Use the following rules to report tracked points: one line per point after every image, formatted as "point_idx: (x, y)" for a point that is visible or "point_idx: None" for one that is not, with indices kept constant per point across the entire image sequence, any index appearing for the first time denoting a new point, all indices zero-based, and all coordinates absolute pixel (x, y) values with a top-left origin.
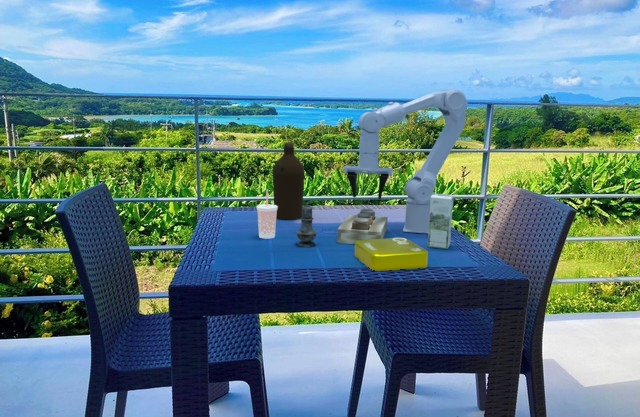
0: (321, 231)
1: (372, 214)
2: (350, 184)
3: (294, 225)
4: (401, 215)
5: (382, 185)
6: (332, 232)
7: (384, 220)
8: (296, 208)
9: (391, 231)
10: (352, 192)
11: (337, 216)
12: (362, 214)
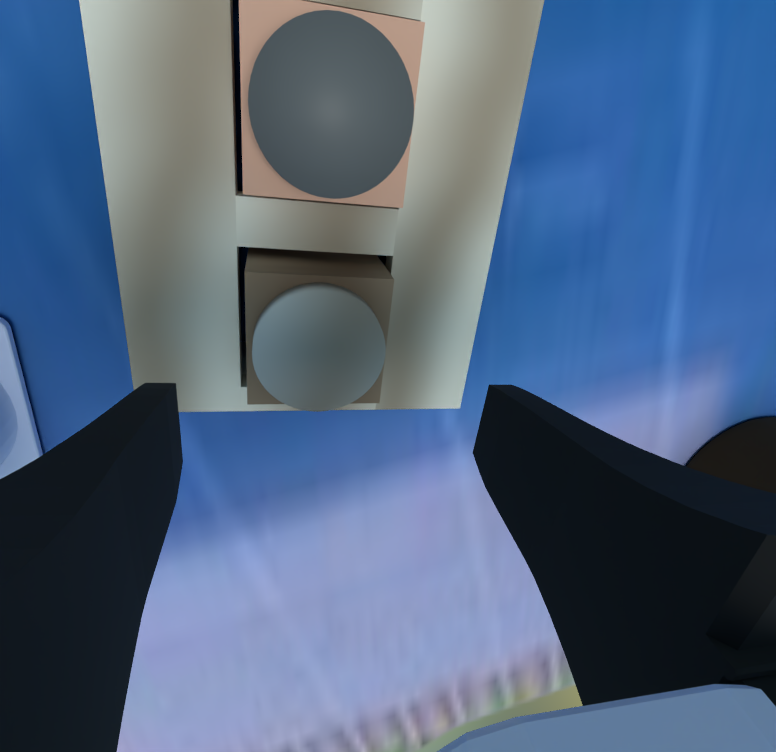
0: (616, 196)
1: (254, 278)
2: (667, 460)
3: (746, 314)
4: (145, 691)
5: (2, 490)
6: (545, 183)
7: (132, 272)
8: (763, 478)
9: (112, 320)
10: (555, 406)
11: (492, 563)
12: (354, 107)
